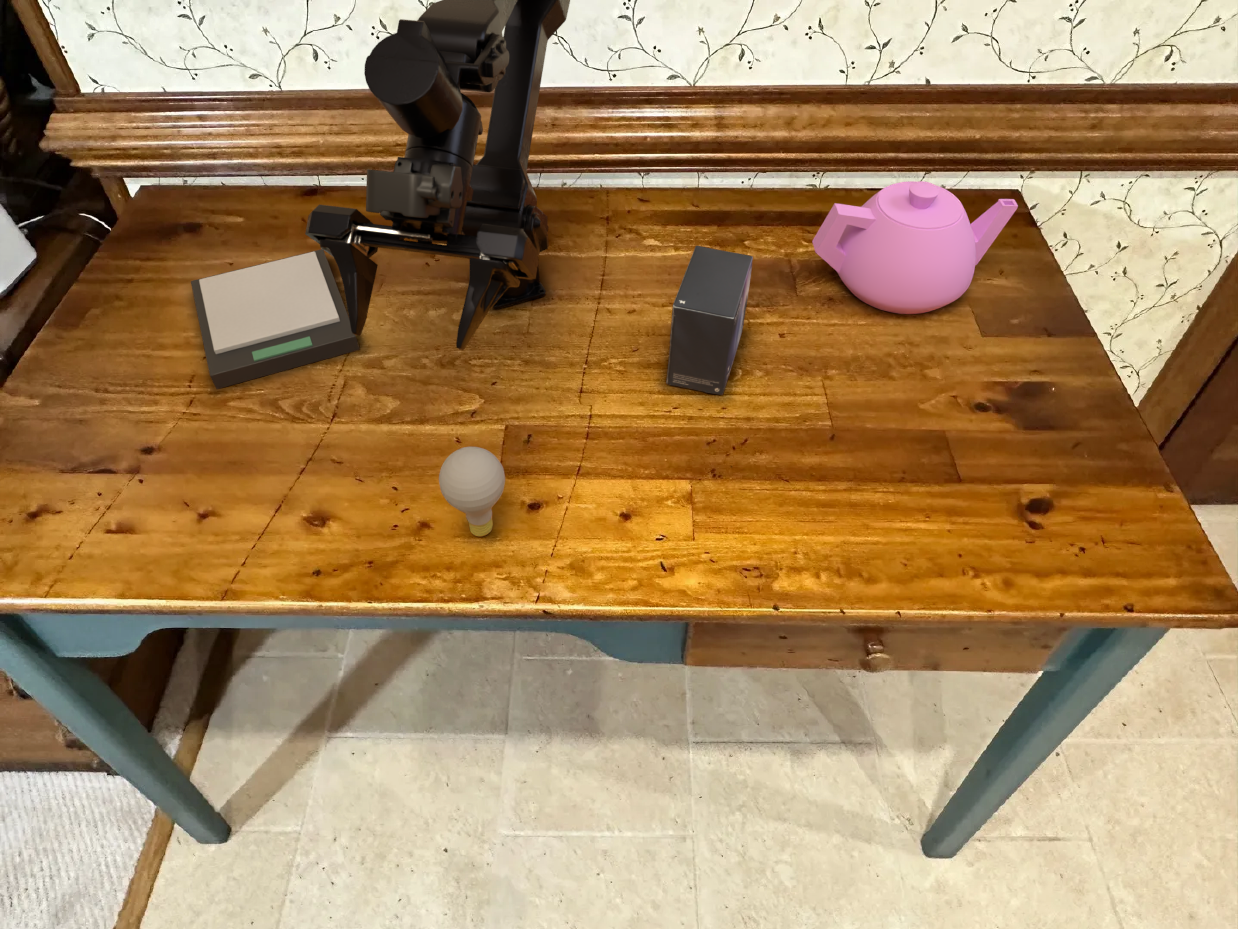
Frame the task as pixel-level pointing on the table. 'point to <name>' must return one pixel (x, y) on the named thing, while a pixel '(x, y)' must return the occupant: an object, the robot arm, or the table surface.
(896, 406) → the table surface
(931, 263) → the teapot
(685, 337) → the small box
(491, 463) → the light bulb
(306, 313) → the scale
